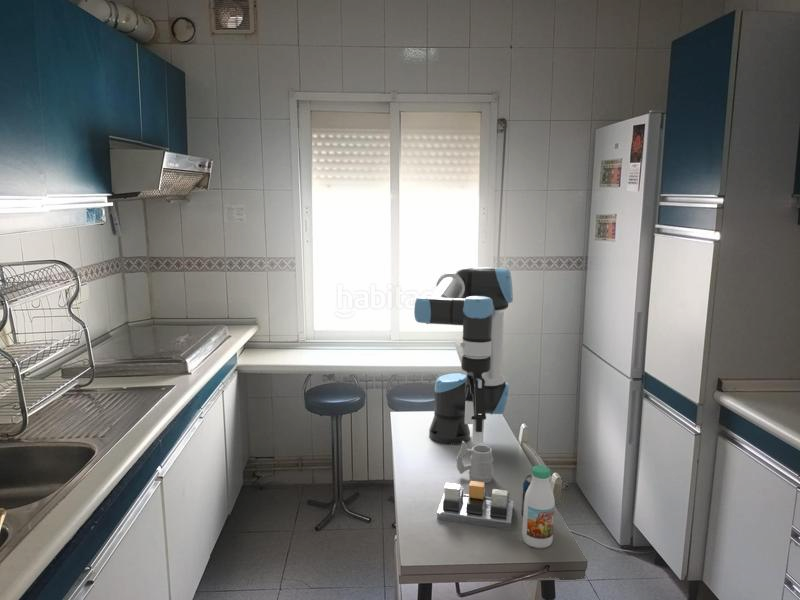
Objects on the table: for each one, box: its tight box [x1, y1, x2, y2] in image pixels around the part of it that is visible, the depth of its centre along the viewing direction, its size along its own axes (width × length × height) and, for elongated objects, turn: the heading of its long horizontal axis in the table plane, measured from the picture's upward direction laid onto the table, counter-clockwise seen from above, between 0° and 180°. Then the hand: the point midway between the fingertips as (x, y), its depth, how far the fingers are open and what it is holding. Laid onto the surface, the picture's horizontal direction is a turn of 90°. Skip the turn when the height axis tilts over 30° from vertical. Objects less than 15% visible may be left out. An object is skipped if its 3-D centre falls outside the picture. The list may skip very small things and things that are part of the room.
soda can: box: [521, 474, 533, 518], centre depth 159 cm, size 7×7×12 cm
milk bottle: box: [521, 464, 556, 549], centre depth 149 cm, size 8×8×20 cm
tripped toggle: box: [468, 480, 486, 499], centre depth 162 cm, size 3×4×4 cm
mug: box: [455, 441, 495, 484], centre depth 183 cm, size 8×12×12 cm, turn 84°
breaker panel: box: [436, 482, 514, 531], centre depth 163 cm, size 12×20×9 cm, turn 76°
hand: (473, 432), depth 155 cm, fingers open, 13 cm apart
